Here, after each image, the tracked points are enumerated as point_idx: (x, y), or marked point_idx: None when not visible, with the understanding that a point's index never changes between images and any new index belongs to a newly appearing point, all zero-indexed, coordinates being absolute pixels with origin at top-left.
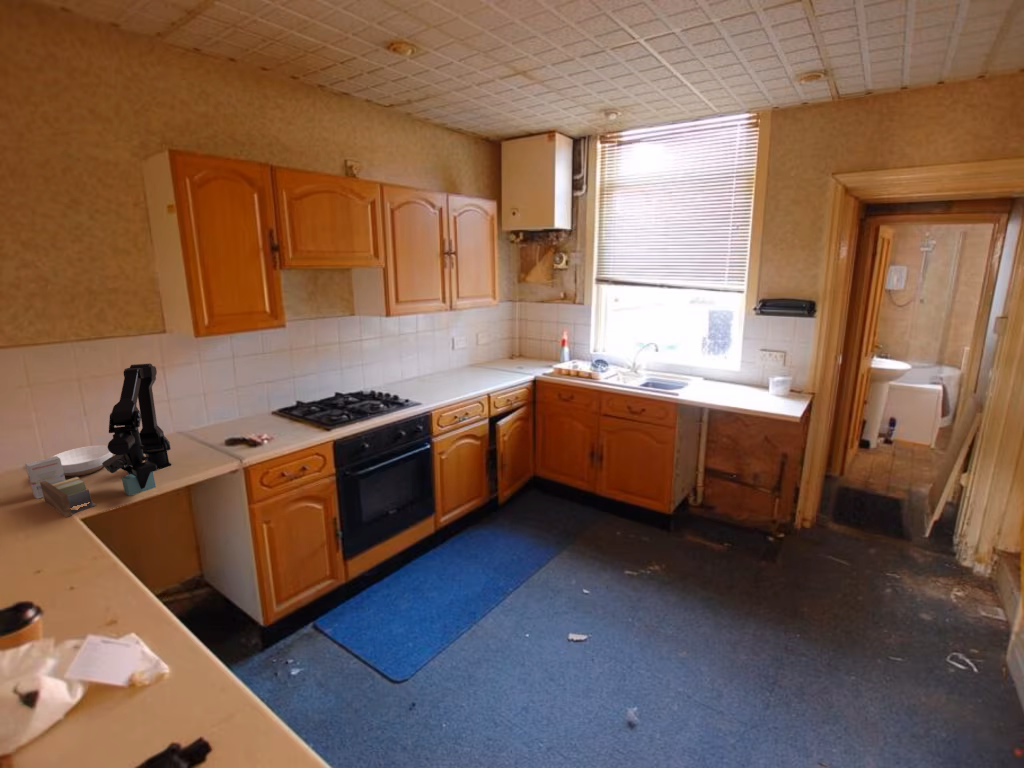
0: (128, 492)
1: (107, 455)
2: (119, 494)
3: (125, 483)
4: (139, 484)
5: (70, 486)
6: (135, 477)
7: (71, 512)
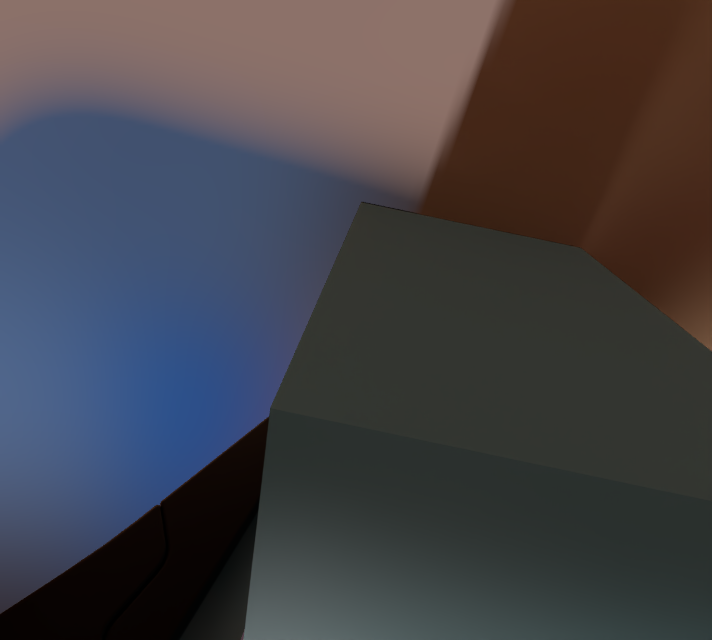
0: (392, 224)
1: None
2: (634, 165)
3: (482, 324)
4: (251, 447)
5: None
6: (250, 630)
7: None
